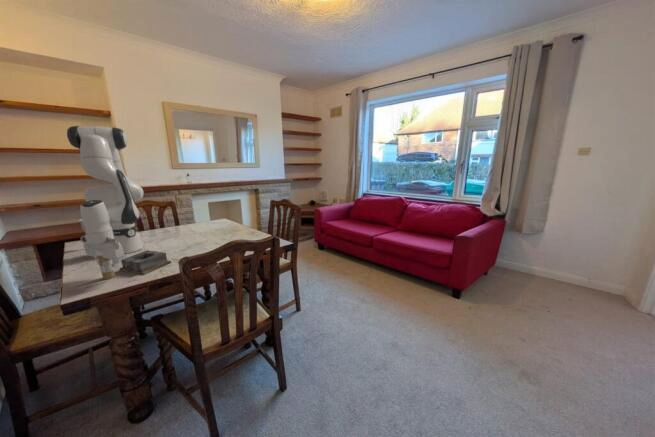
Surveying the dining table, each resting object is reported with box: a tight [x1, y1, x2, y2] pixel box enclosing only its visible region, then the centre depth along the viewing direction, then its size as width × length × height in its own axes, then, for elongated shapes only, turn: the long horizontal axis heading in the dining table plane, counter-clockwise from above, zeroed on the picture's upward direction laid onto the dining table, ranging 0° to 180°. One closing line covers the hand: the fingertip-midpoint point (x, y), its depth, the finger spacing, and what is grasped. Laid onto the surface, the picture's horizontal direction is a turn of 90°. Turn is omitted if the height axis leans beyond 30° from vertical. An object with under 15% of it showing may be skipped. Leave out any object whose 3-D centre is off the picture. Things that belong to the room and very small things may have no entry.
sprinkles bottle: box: [96, 251, 116, 280], centre depth 114 cm, size 5×5×14 cm
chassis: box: [119, 249, 172, 276], centre depth 125 cm, size 17×14×6 cm
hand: (108, 265), depth 114 cm, fingers open, 8 cm apart
